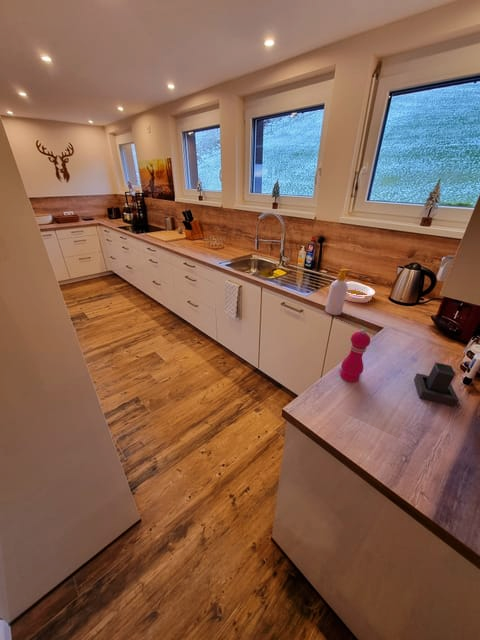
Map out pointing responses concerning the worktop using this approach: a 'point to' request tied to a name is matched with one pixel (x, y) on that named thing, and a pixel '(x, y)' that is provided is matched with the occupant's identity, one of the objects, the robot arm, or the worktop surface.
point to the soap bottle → (337, 294)
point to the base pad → (425, 394)
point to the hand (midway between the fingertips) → (466, 297)
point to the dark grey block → (440, 378)
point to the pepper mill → (355, 357)
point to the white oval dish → (360, 288)
